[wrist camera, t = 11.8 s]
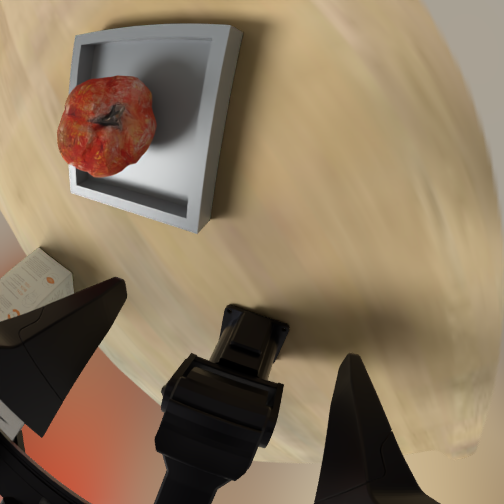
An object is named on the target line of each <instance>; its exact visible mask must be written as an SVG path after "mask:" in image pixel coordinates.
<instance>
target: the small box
mask: <svg viewBox="0 0 504 504" xmlns="http://www.w3.org/2000/svg"><path fill="white" fill-rule="evenodd" d="M71 294H74V287H73V277H72V273H71V272H70V271H68V270H67V269H66V268H64V267H63V266H62V265H60V264H59V263H58V262H56V261H55V260H54V259H53V258H51V257H50V256H49V255H48V254H46V253H45V252H44V251H43V250H41V249H40V248H39V247H38V248H37V249H36V250H34V251H33V252H32V253H31V254H29V255H28V256H27V257H26V258H25V259H23V260H22V261H21V262H20V263H18V264H17V265H16V266H15V267H13V268H12V269H11V270H10V271H9V272H8V273H6V274H5V275H4V276H3V277H2V278H1V279H0V321H3V320H6V319H9V318H12V317H16V316H19V315H21V314H24V313H27V312H30V311H32V310H35V309H37V308H40V307H42V306H45V305H47V304H49V303H52V302H54V301H57V300H59V299H61V298H64V297H66V296H69V295H71Z"/></svg>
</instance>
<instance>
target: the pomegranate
mask: <svg viewBox="0 0 504 504" xmlns="http://www.w3.org/2000/svg"><path fill="white" fill-rule="evenodd" d="M156 127H157V124H156V119H155V116H154V114H153V110H152V93H151V91H150V90H149V89H148V88H147V86H146V85H145V84H144V83H143V82H142V81H140V80H139V79H138V78H136V77H134V76H120V75H117V76H112V77H104V78H98V79H90V80H87V81H85V82H83V83H81V84H79V85H77V86H76V87H75V88H74V89H73V90H72V91H71V92H70V94H69V96H68V98H67V100H66V103H65V111H64V113H63V115H62V118H61V121H60V124H59V127H58V131H57V140H58V147H59V151H60V153H61V155H62V157H63V158H64V160H65V161H66V162H67V163H68V164H70V165H73V166H74V167H76V168H77V169H79V170H82V171H85V172H88V173H89V174H91V175H92V176H93V177H98V178H100V177H108V176H113V175H115V174H117V173H119V172H121V171H123V170H124V169H125V168H126V167H127V166H129V165H132V164H136V163H137V162H138V161H139V159H140V158H141V157H142V156H143V155H144V153H145V152H146V151H147V150H148V148H149V146H150V144H151V142H152V140H153V137H154V134H155V131H156Z"/></svg>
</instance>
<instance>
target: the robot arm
mask: <svg viewBox="0 0 504 504" xmlns="http://www.w3.org/2000/svg"><path fill="white" fill-rule="evenodd" d="M126 299H127V291H126V284H125V281H124V280H123V279H121V278H118V277H113V278H111V279H108V280H106V281H103V282H101V283H98V284H96V285H93V286H91V287H88V288H86V289H83V290H81V291H79V292H76V293H74V294H71V295H69V296H66V297H64V298H61V299H59V300H57V301H54V302H52V303H49V304H47V305H45V306H42V307H40V308H37V309H35V310H32V311H30V312H27V313H24V314H21V315H19V316H16V317H12V318H9V319H6V320H3V321H0V495H1V496H2V497H3V500H2V501H1V503H0V504H91V503H89V502H88V501H86V500H85V499H83V498H82V497H80V496H79V495H77V494H76V493H74V492H73V491H72V490H70V489H69V488H67V487H66V486H64V485H63V484H62V483H61V482H59V481H58V480H56V479H55V478H54V477H53V476H51V475H50V474H49V473H48V472H47V471H45V470H44V469H43V468H42V467H40V466H39V465H38V464H37V463H36V462H35V461H34V460H32V459H31V458H30V457H29V456H28V455H27V454H26V453H25V448H24V442H23V436H22V430H21V429H22V427H23V426H24V424H26V425H27V426H28V427H29V428H31V429H32V430H33V431H34V432H35V433H37V434H38V435H39V436H40V437H41V438H42V437H43V436H44V434H45V433H46V431H47V429H48V427H49V425H50V423H51V422H52V420H53V418H54V417H55V415H56V413H57V411H58V410H59V408H60V406H61V405H62V403H63V401H64V399H65V398H66V396H67V394H68V393H69V391H70V389H71V388H72V386H73V384H74V383H75V381H76V380H77V378H78V377H79V375H80V373H81V372H82V370H83V369H84V367H85V365H86V364H87V363H88V361H89V359H90V358H91V356H92V355H93V353H94V352H95V350H96V349H97V347H98V346H99V344H100V343H101V341H102V340H103V338H104V337H105V335H106V334H107V333H108V331H109V329H110V328H111V326H112V324H113V323H114V321H115V319H116V317H117V315H118V313H119V312H120V310H121V308H122V306H123V304H124V303H125V301H126ZM230 310H231V311H230ZM284 328H285V329H284ZM289 328H290V327H289V325H288V324H286V323H283V322H279V321H276V320H273V319H270V318H267V317H264V316H261V315H258V314H255V313H252V312H249V311H247V310H244V309H241V308H238V307H235V306H232V305H227V306H226V308H225V311H224V316H223V321H222V327H221V332H220V338H219V341H218V343H217V345H216V347H215V349H214V352H213V354H212V356H211V358H210V360H209V361H208V360H206V359H203V358H201V357H198V356H197V355H195V354H193V353H191V354H190V356H189V357H188V358H187V359H185V360H184V362H183V363H182V364H181V366H180V367H179V368H178V370H177V371H176V372H175V373H174V375H173V376H172V377H171V379H170V380H169V381H168V383H167V384H166V385H164V386H163V388H162V390H161V393H162V395H163V399H162V404H161V410H162V412H165V413H164V416H163V418H162V421H161V424H160V427H159V430H158V432H157V434H156V436H155V446H156V450H157V452H159V453H161V454H162V455H163V458H164V462H165V466H166V469H167V471H166V474H165V476H164V479H163V482H162V484H161V487H160V489H159V492H158V495H157V497H156V500H155V502H154V504H211V503H212V501H213V499H214V496H215V494H216V492H217V489H219V488H220V487H222V486H224V485H225V484H227V483H228V482H230V481H231V480H233V481H236V480H237V479H239V478H240V477H241V476H242V475H244V474H245V473H246V471H247V469H249V467H250V466H251V463H252V461H253V458H254V456H255V454H256V451H257V449H258V447H262V448H266V446H267V445H268V443H269V441H270V438H271V436H272V433H273V431H274V428H275V425H276V422H277V418H278V413H279V408H280V403H281V398H282V393H283V387H284V384H281V383H274V382H271V381H268V377H269V374H270V371H271V367H272V364H273V363H274V362H275V360H276V358H277V356H278V354H279V352H280V350H281V347H282V345H283V343H284V341H285V339H286V336H287V334H288V332H289ZM391 430H392V429H391V427H390V424H389V422H388V419H387V417H386V414H385V412H384V410H383V407H382V405H381V403H380V400H379V398H378V396H377V393H376V391H375V389H374V386H373V384H372V382H371V379H370V377H369V375H368V373H367V370H366V368H365V366H364V364H363V362H362V359H361V357H360V356H359V355H358V354H354V353H348V354H347V356H346V357H345V359H344V361H343V362H342V364H341V365H340V367H339V371H338V375H337V380H336V384H335V389H334V393H333V397H332V401H331V406H330V413H329V420H328V428H327V435H326V442H325V448H324V454H323V460H322V466H321V472H320V477H319V482H318V487H317V492H316V497H315V501H314V502H315V503H314V504H440V503H438V502H437V501H435V500H434V499H432V498H431V497H429V496H428V495H426V494H425V493H424V492H423V491H422V490H421V488H420V487H419V486H418V484H417V482H416V480H415V478H414V476H413V474H412V472H411V470H410V468H409V466H408V464H407V463H406V461H405V459H404V457H403V455H402V452H401V450H400V448H399V446H398V444H397V441H396V439H395V436H394V434H393V432H392V431H391Z"/></svg>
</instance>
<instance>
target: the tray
mask: <svg viewBox="0 0 504 504" xmlns="http://www.w3.org/2000/svg"><path fill="white" fill-rule="evenodd" d="M242 36H243V32H242V31H240V30H238V29H237V28H235V27H233V26H231V25H219V24H157V25H143V26H132V27H123V28H116V29H109V30H102V31H97V32H91V33H86V34H81V35H76V36H75V42H74V48H73V56H72V64H71V73H70V85H69V94H70V92H71V91H72V90H73V89H74V88H75V87H76V86H77V85H79V84H81V83H83V82H85V81H87V80H90V79H98V78H104V77H112V76H117V75H120V76H134V77H136V78H138V79H139V80H140V81H142V82H143V83H144V84H145V85H146V86H147V88H148V89H149V90H150V91H151V93H152V110H153V114H154V116H155V119H156V124H157V127H156V131H155V134H154V137H153V140H152V142H151V144H150V146H149V148H148V150H147V151H146V152H145V153H144V155H143V156H142V157H141V158H140V159H139V161H138V162H137V163H136V164H132V165H129V166H127V167H126V168H125V169H124V170H123V171H121V172H119V173H117V174H115V175H113V176H108V177H100V178H98V177H93V176H92V175H91V174H89V173H88V172H85V171H82V170H79V169H77V168H76V167H74V166H73V165H70V164H69V177H70V189H71V193H73V194H76V195H79V196H82V197H85V198H88V199H91V200H94V201H98V202H101V203H104V204H107V205H110V206H113V207H116V208H119V209H122V210H125V211H128V212H131V213H135V214H138V215H141V216H144V217H147V218H150V219H153V220H156V221H159V222H162V223H165V224H168V225H171V226H175V227H178V228H181V229H184V230H187V231H190V232H193V233H196V234H198V233H199V231H200V230H201V229H202V228H203V227H204V226H205V225H206V224H207V223H208V222H209V221H210V218H211V210H212V203H213V196H214V189H215V183H216V176H217V169H218V163H219V157H220V151H221V145H222V139H223V133H224V127H225V122H226V116H227V110H228V105H229V100H230V94H231V89H232V84H233V79H234V74H235V69H236V64H237V59H238V55H239V50H240V45H241V41H242Z"/></svg>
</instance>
